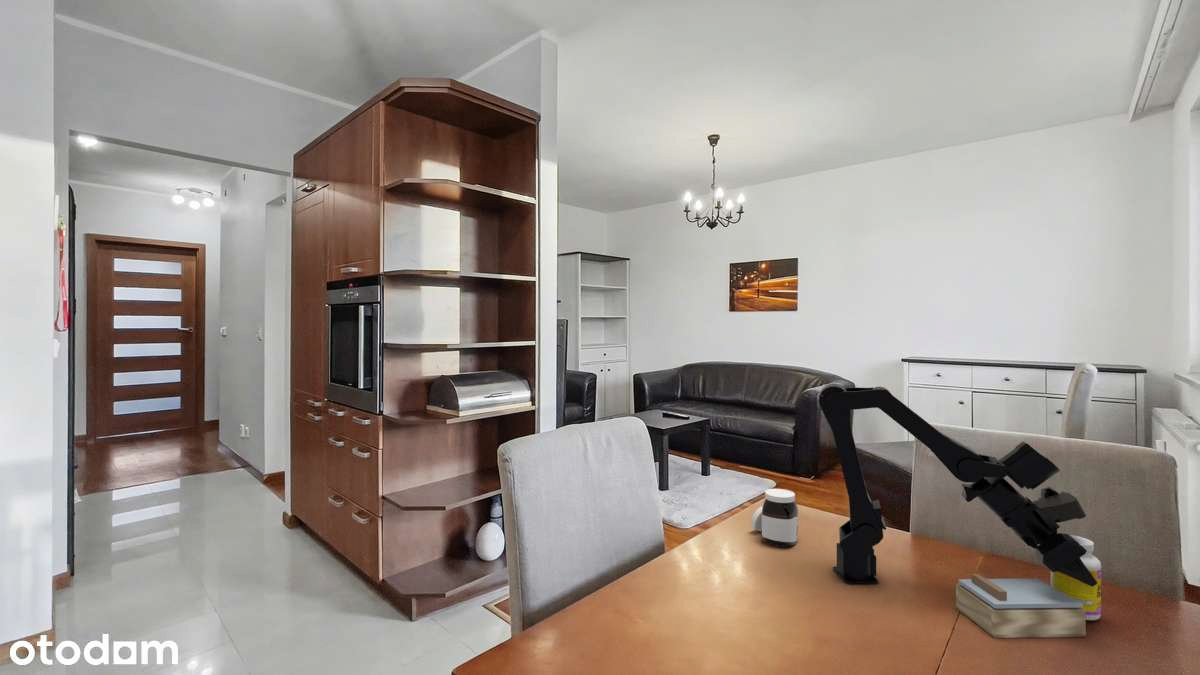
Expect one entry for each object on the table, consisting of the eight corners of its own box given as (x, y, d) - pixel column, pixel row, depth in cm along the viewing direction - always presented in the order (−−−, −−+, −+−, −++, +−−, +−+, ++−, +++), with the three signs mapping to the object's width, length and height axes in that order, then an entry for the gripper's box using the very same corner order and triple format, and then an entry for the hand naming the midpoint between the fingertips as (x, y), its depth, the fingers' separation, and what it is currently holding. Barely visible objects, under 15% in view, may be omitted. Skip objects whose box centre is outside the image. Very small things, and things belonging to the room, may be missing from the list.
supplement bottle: (1106, 626, 87) (1107, 550, 87) (1054, 614, 91) (1055, 541, 90) (1094, 608, 93) (1095, 537, 93) (1046, 598, 96) (1047, 529, 96)
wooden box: (994, 637, 84) (994, 611, 84) (956, 608, 93) (955, 584, 93) (1085, 636, 85) (1085, 610, 84) (1038, 607, 94) (1038, 583, 93)
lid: (995, 608, 85) (995, 595, 85) (958, 583, 93) (958, 571, 93) (1082, 607, 85) (1082, 594, 85) (1037, 582, 93) (1037, 570, 93)
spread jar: (791, 552, 118) (791, 501, 118) (742, 541, 124) (742, 493, 124) (803, 534, 128) (802, 487, 128) (757, 525, 134) (757, 481, 134)
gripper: (1071, 492, 84) (1161, 572, 80) (1029, 465, 101) (1102, 530, 97) (1010, 532, 88) (1094, 611, 83) (980, 499, 105) (1048, 564, 100)
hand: (1085, 575), depth 91 cm, fingers closed on supplement bottle, 7 cm apart
